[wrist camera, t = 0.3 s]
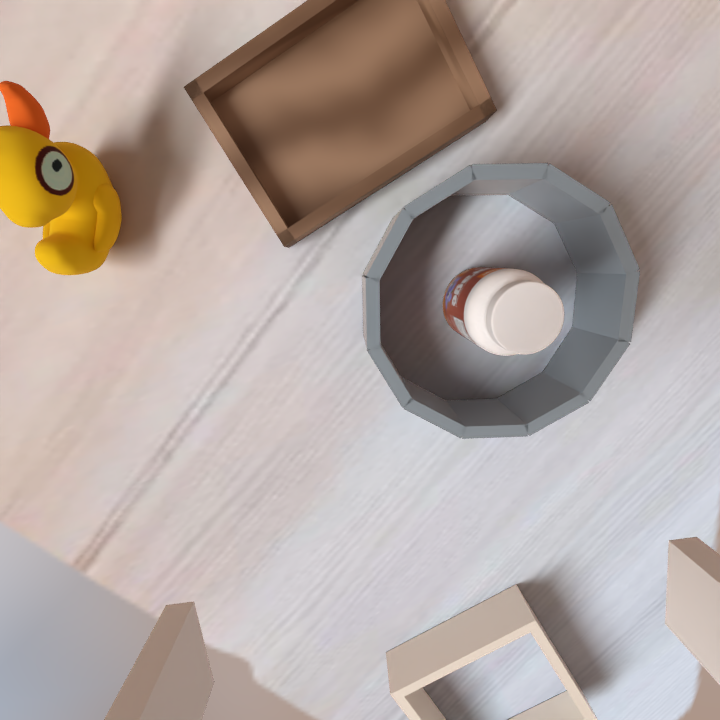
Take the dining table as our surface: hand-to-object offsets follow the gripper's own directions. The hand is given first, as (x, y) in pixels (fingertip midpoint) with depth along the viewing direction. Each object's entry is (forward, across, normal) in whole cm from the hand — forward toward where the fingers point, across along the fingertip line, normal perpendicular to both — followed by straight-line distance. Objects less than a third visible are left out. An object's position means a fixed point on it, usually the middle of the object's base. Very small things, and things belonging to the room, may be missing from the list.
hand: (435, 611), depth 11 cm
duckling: (+27, -21, +17) cm, 38 cm away
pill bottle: (+27, +10, +5) cm, 29 cm away
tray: (+27, 0, +22) cm, 34 cm away
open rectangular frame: (+27, +8, -36) cm, 46 cm away
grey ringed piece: (+27, +10, +5) cm, 29 cm away
